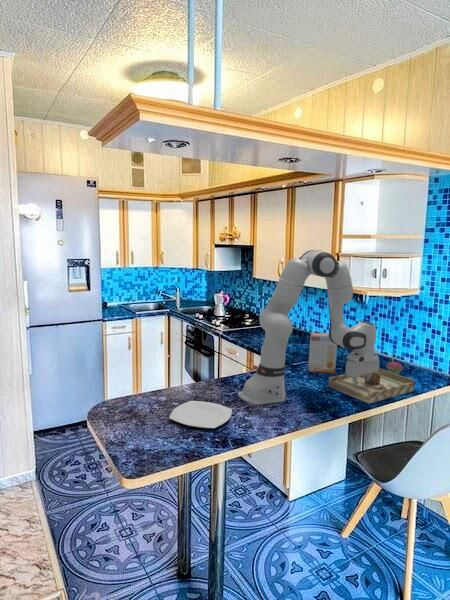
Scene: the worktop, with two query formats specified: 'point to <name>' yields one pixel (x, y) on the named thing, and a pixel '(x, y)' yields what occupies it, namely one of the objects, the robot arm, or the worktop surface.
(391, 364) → the cupcake
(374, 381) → the walnut block
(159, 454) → the worktop surface
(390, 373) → the trap deck
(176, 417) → the plate
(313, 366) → the cracker box
